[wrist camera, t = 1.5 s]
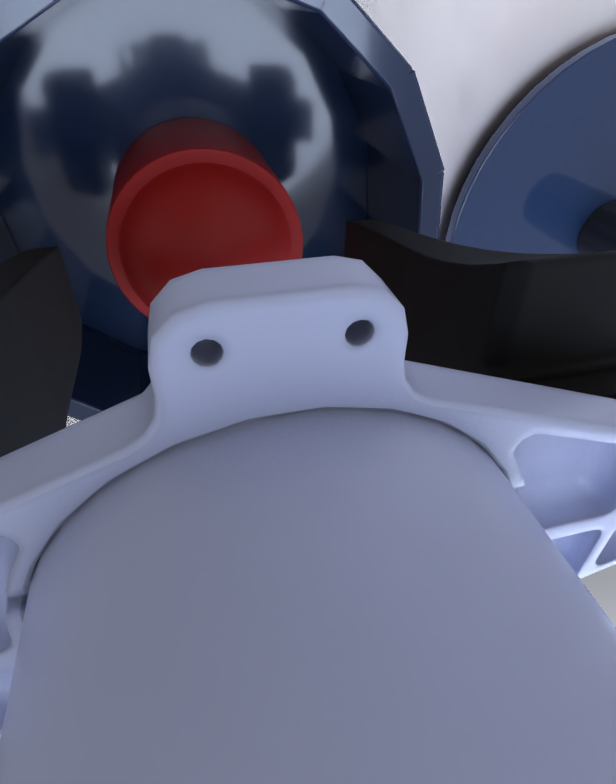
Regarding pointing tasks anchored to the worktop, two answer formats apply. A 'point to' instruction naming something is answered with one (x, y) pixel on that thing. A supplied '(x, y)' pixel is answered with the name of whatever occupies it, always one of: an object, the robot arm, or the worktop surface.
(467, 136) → the worktop surface
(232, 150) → the red rubber stopper
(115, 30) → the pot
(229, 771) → the robot arm
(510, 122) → the lid
